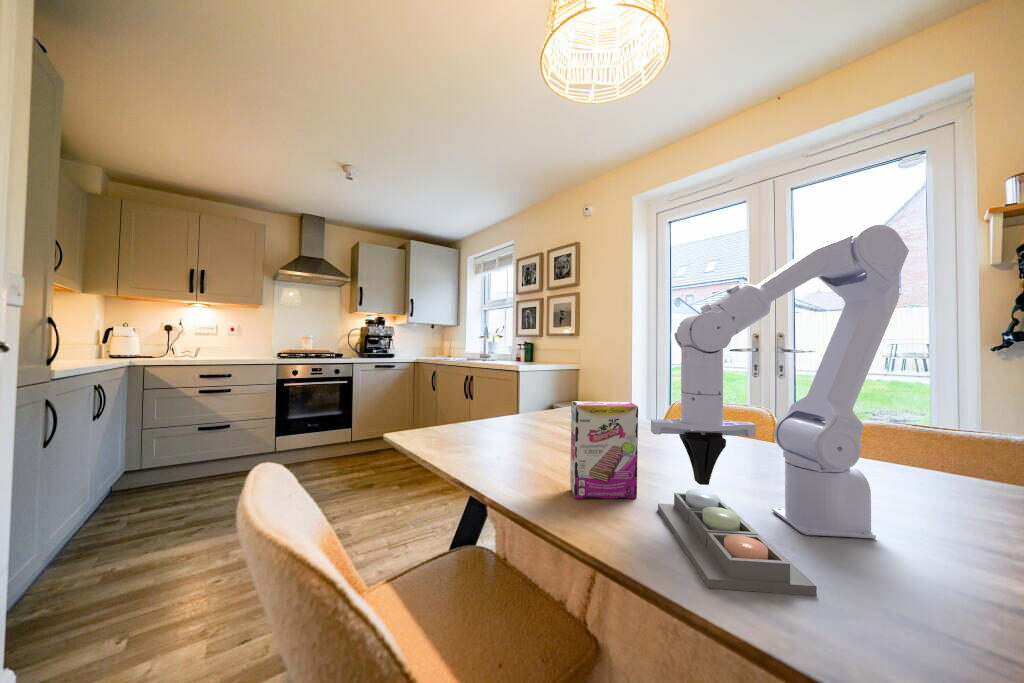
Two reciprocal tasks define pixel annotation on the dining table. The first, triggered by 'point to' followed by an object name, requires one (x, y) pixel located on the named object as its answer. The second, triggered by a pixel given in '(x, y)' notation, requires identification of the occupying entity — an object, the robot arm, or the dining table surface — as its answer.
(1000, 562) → the dining table surface
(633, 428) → the candy bar box
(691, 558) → the button panel
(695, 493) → the pale blue button
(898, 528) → the dining table surface
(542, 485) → the dining table surface
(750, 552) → the terracotta button
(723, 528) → the sage button
